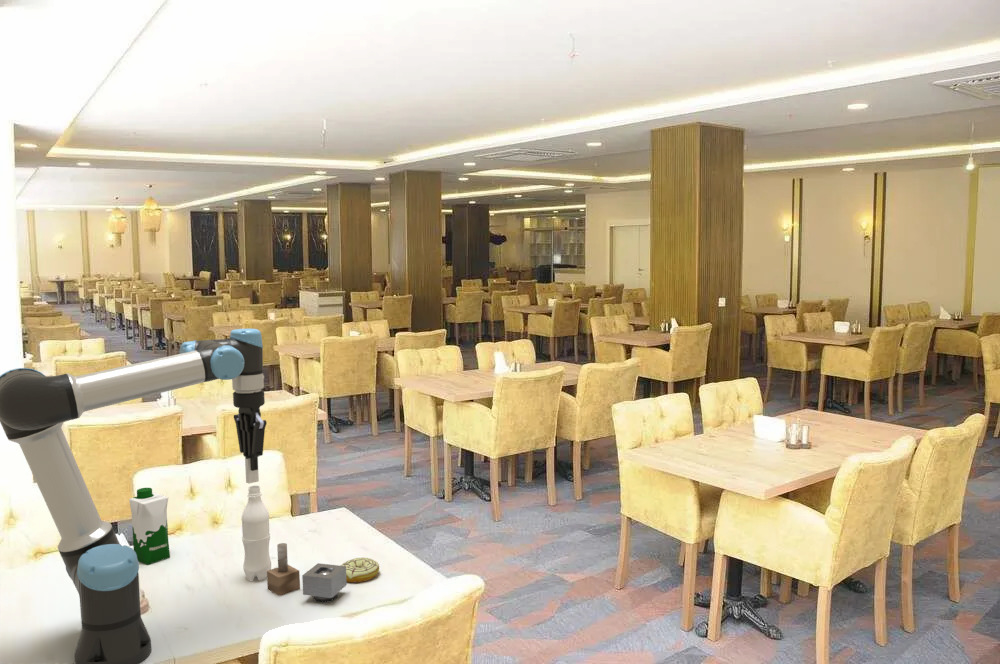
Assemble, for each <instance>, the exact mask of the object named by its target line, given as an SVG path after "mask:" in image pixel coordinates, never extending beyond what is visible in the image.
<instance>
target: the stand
mask: <svg viewBox="0 0 1000 664" xmlns="http://www.w3.org/2000/svg"><path fill="white" fill-rule="evenodd" d="M276 547H277V567H274V568H271V570H268V571H267V577H266V581H267V582H266V583H267V590H268V591H269V592H271V593H272V594H275V595H277V596H278V597H282V596H284V595H287V594H290V593H292V592H296V591H298V590H301V580H300V578H301V577H300V576H301V575H300V570H299V569H298V568H295V567H294V566H291V565H290V564H289V563H288V543H285V542H280V543H278V544H277V545H276Z"/></svg>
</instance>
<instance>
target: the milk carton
mask: <svg viewBox="0 0 1000 664" xmlns="http://www.w3.org/2000/svg"><path fill="white" fill-rule="evenodd" d="M128 500H129V507H130V513H131V525H132V526H131V527H132V541H133V542H132V543H133V550H134V551H135V552H136V555H137V560H138V562H139V563H141V564H144V565H146V566H149V565H152V564H155V563H157V562H160V561H163V560H166V559H169V558H171V555H170V544H169V531H168V530H169V528H168V526H169V525H168V512H167V510H168V504H169V503H168V502H169V497H168V496H165V495H163V494H161V493H157V492H153V488H151V487H142V488H141V487H140V488H138V489H137V490H136V496H134V497H131V498H129V499H128Z"/></svg>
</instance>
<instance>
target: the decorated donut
mask: <svg viewBox="0 0 1000 664" xmlns="http://www.w3.org/2000/svg"><path fill="white" fill-rule="evenodd" d="M340 566H346V582H347V583H357V584H358V583H360V582H366V581H370V580H372V579H374V578H375V577H376V576H377V575H378V573H379V571H380V564H379V562H378V561H376V560H374V559H372V558H368V557H355V558H352V559H348V560H346V561H345V562H343V563H342V564H341V565H340Z"/></svg>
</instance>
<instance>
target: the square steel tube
mask: <svg viewBox="0 0 1000 664" xmlns="http://www.w3.org/2000/svg"><path fill="white" fill-rule="evenodd" d="M321 571H330V573H329V574H328V575H326V574H319V572H321ZM301 577H302V594H303V595H304V596H312V597H313V596H319V597H327V598H333V597H334V596H335V595H336V594H338V593H340V591H342V590H343V589H344V588H345V587H346V586H347V583H348V582H346V566H341V565H338V564H337V565H336V564H327V563H318V562H317V563H316V564H315V565H314V566H312V567H311V568H310V569H308V570H307V571H306V572H304V574H303V573H302V576H301Z"/></svg>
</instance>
